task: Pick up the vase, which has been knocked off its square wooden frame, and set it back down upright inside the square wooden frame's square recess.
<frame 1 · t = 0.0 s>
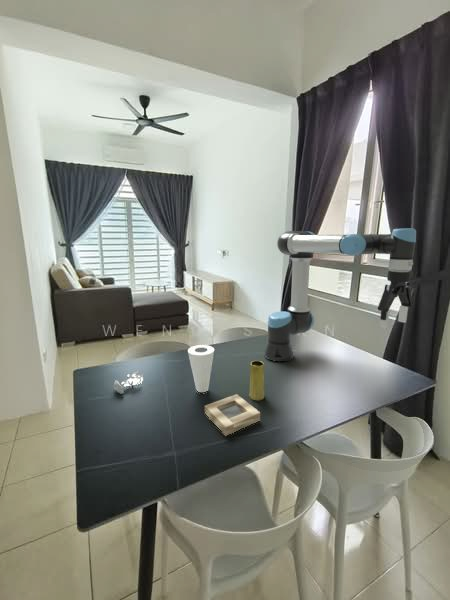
hand: (392, 324, 111), 28 cm above the table, fingers open, 13 cm apart
figurine: (129, 389, 120), on the table
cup: (202, 390, 118), on the table
vase: (256, 396, 114), on the table
square wooden frame: (231, 417, 100), on the table
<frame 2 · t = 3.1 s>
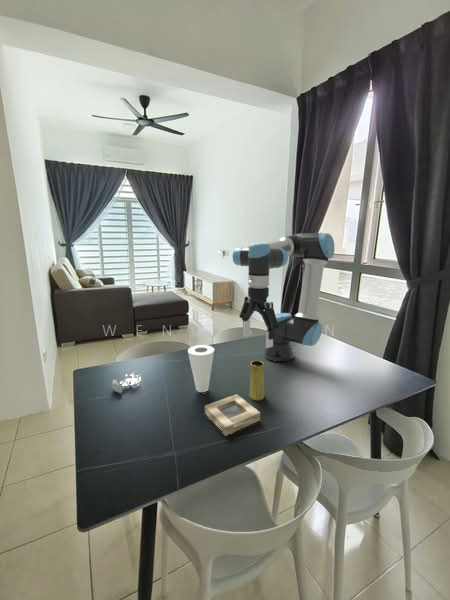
hand: (257, 341, 108), 23 cm above the table, fingers open, 13 cm apart
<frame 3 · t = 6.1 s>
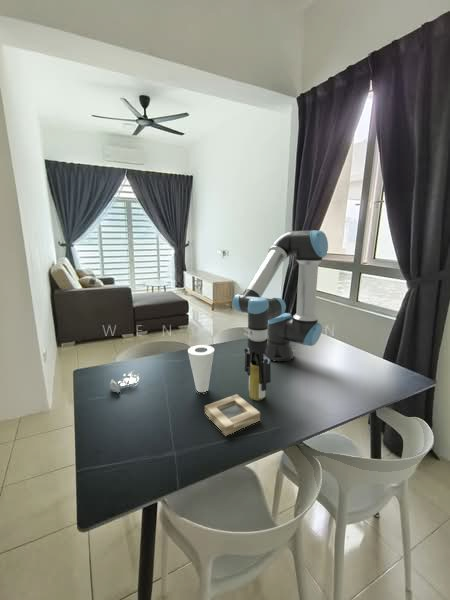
hand: (256, 393, 113), 1 cm above the table, fingers closed on vase, 6 cm apart
vase: (256, 396, 114), on the table, touching gripper
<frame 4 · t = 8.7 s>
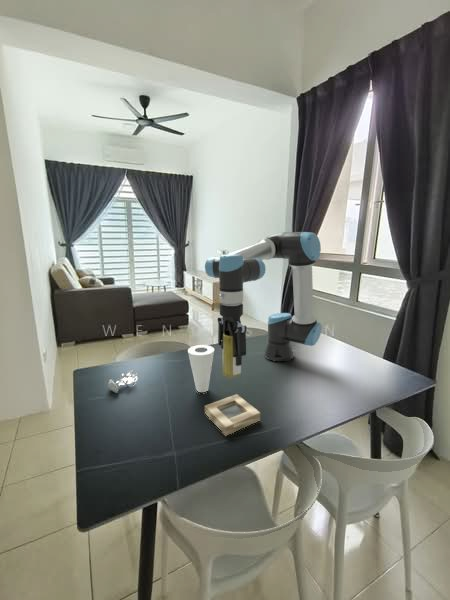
hand: (231, 369, 96), 18 cm above the table, fingers closed on vase, 6 cm apart
vase: (231, 374, 97), point 17 cm above the table, touching gripper
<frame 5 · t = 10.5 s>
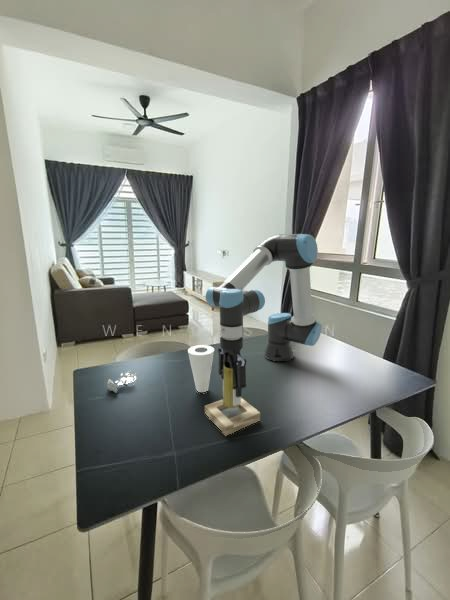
hand: (231, 399, 99), 7 cm above the table, fingers closed on vase, 6 cm apart
vase: (231, 403, 99), point 6 cm above the table, touching gripper
when the fingers open (5 cm above the table, at t = 11.8 s): vase drops 1 cm, resting on square wooden frame.
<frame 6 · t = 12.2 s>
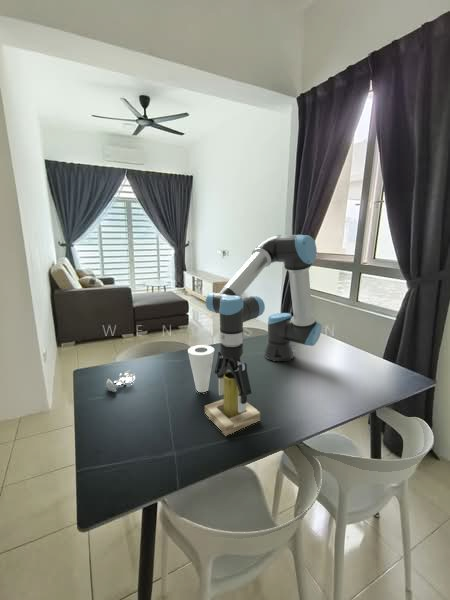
hand: (231, 402, 99), 6 cm above the table, fingers open, 11 cm apart
vase: (231, 412, 100), point 2 cm above the table, touching square wooden frame
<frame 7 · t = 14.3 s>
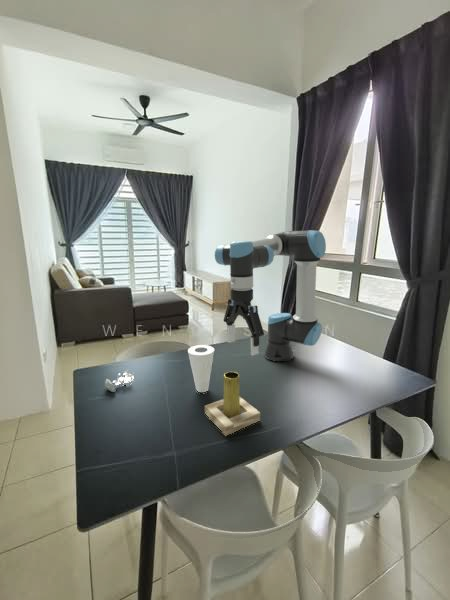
hand: (242, 347, 100), 24 cm above the table, fingers open, 13 cm apart
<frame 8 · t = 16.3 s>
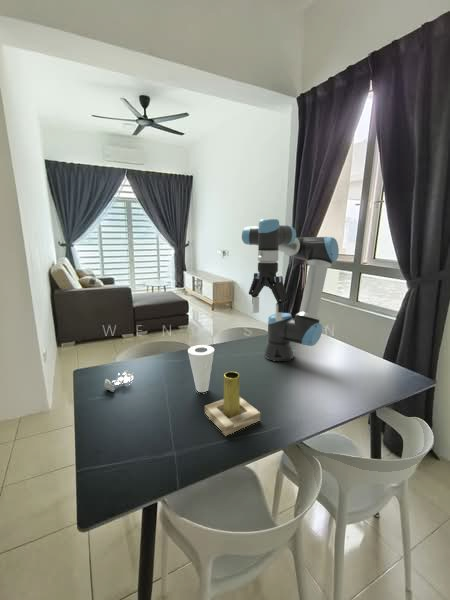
hand: (266, 316, 111), 32 cm above the table, fingers open, 13 cm apart
at the end: vase 0.0 cm off-centre on the square wooden frame, point 2.0 cm above the square wooden frame's base; vase tilted 0°; the gripper is holding nothing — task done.
